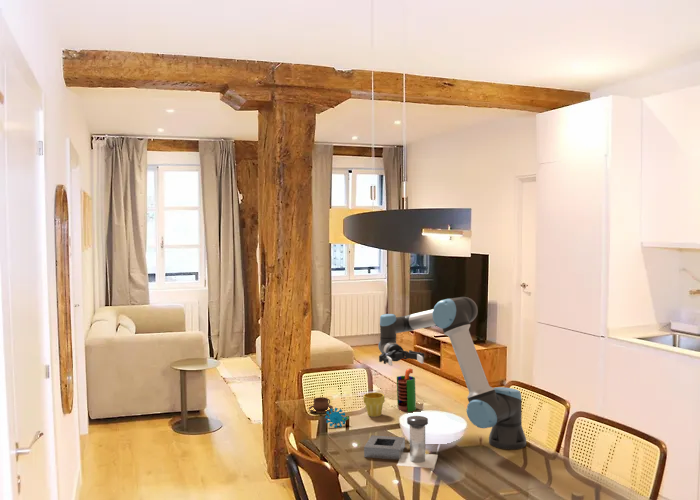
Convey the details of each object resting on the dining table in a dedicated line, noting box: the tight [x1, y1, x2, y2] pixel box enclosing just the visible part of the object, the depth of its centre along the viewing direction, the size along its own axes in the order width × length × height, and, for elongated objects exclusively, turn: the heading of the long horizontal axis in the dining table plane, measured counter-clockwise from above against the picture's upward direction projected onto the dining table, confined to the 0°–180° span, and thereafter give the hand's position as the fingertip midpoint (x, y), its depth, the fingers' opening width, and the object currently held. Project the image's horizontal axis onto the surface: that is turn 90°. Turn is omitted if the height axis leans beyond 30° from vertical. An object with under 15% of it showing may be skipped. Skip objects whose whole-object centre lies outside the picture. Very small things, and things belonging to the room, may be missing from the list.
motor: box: [396, 368, 417, 413], centre depth 309 cm, size 10×9×20 cm
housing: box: [363, 434, 406, 461], centre depth 247 cm, size 14×14×5 cm
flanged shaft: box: [406, 415, 429, 463], centre depth 238 cm, size 8×8×16 cm
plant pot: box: [362, 392, 385, 418], centre depth 300 cm, size 10×10×10 cm
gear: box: [324, 407, 350, 429], centre depth 286 cm, size 11×6×10 cm
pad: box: [396, 451, 439, 472], centre depth 238 cm, size 14×14×1 cm
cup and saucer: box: [308, 396, 334, 414], centre depth 308 cm, size 12×12×6 cm
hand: (407, 361), depth 258 cm, fingers open, 13 cm apart
